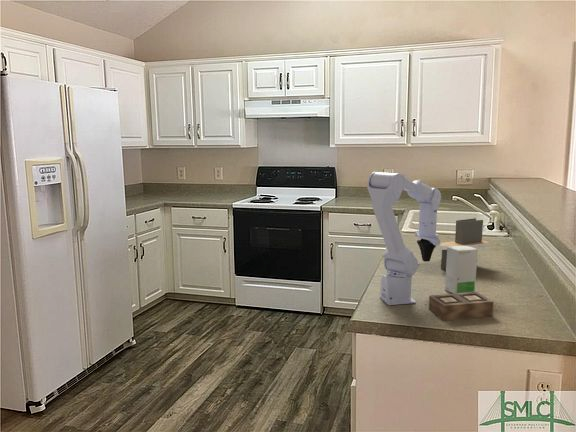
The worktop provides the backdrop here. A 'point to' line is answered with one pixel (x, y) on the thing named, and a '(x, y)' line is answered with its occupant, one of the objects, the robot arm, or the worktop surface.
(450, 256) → the skincare box
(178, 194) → the worktop surface
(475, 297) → the peg
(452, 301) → the peg
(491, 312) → the walnut block
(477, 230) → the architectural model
